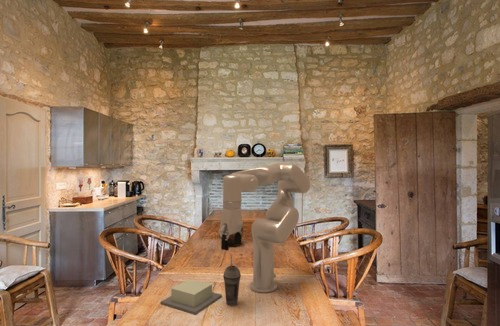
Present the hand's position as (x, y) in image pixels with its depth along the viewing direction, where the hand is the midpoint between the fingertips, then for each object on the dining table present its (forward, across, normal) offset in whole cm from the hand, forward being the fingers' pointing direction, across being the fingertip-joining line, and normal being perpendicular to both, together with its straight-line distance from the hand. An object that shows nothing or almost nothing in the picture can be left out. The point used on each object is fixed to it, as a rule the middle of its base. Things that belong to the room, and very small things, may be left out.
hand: (231, 246), depth 134 cm
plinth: (+24, +5, -16) cm, 29 cm away
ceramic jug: (+23, -74, -47) cm, 90 cm away
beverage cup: (+24, -1, 0) cm, 24 cm away
